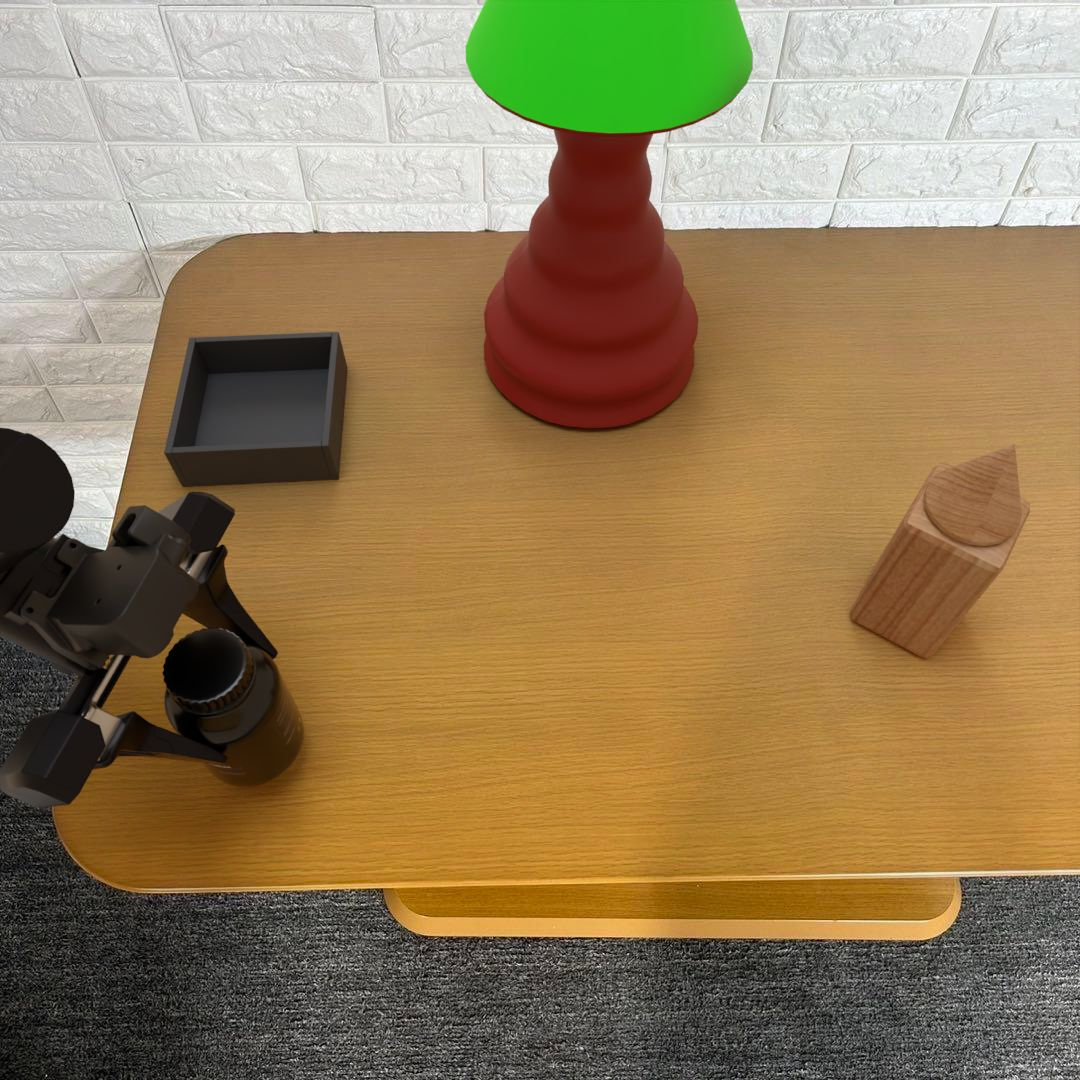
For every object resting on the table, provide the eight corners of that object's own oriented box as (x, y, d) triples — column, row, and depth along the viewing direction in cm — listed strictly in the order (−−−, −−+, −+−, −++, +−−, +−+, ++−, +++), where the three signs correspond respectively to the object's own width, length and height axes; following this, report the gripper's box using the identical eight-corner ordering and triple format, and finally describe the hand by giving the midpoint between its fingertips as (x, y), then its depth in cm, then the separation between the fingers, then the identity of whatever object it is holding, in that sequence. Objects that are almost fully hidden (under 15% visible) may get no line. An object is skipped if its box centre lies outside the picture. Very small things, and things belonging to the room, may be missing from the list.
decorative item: (878, 560, 72) (980, 386, 56) (958, 600, 70) (1089, 433, 54) (844, 619, 69) (942, 455, 52) (927, 664, 67) (1056, 508, 50)
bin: (182, 486, 76) (163, 453, 72) (204, 373, 83) (189, 337, 80) (338, 479, 77) (328, 445, 73) (347, 367, 84) (338, 331, 80)
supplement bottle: (204, 800, 58) (137, 730, 48) (204, 704, 62) (142, 621, 52) (310, 779, 59) (267, 707, 49) (304, 685, 63) (262, 600, 53)
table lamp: (491, 280, 91) (459, -325, 53) (687, 285, 90) (794, -320, 53) (476, 429, 80) (423, -199, 42) (700, 436, 79) (846, -192, 42)
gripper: (-74, 719, 37) (245, 860, 44) (150, 392, 47) (379, 554, 54) (-126, 741, 44) (155, 858, 52) (76, 456, 54) (287, 590, 62)
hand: (249, 707), depth 55 cm, fingers closed on supplement bottle, 7 cm apart
